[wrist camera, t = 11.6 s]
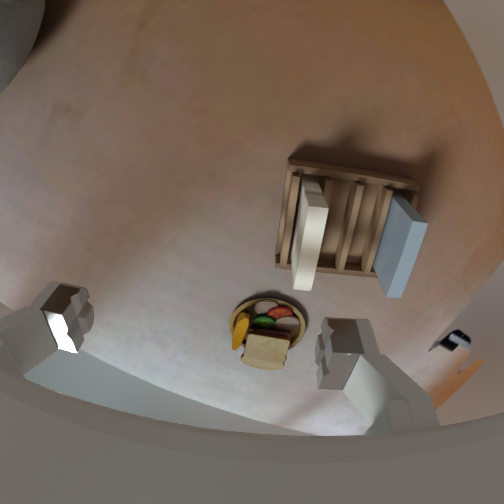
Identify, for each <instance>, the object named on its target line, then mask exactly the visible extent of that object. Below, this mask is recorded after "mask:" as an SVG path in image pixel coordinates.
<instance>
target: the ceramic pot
mask: <svg viewBox="0 0 504 504" xmlns="http://www.w3.org/2000/svg"><path fill="white" fill-rule="evenodd" d="M44 10H45V0H0V93H1V92H2V91H3V90H4V89H5V88H6V87H7V86H8V85H9V83H10V82H11V81H12V79H13V78H14V77H15V75H16V74H17V73H18V71H19V70H20V69H21V67H22V66H23V64H24V63H25V61H26V59H27V57H28V55H29V54H30V52H31V49H32V47H33V45H34V42H35V40H36V37H37V35H38V32H39V29H40V26H41V22H42V18H43V15H44Z"/></svg>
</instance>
